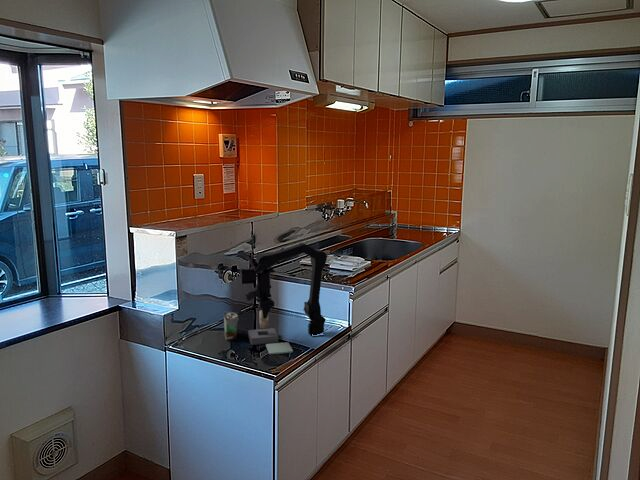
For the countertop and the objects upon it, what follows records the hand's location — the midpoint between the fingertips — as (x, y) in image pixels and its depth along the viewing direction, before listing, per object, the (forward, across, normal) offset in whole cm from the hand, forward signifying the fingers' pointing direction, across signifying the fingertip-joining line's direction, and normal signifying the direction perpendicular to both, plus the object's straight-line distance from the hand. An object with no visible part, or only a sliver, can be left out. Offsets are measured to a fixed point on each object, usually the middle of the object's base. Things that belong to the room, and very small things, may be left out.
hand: (264, 316), depth 220 cm
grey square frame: (+11, -1, 0) cm, 11 cm away
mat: (+11, +11, +5) cm, 16 cm away
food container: (+11, -8, -13) cm, 19 cm away
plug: (+4, 0, 0) cm, 4 cm away
